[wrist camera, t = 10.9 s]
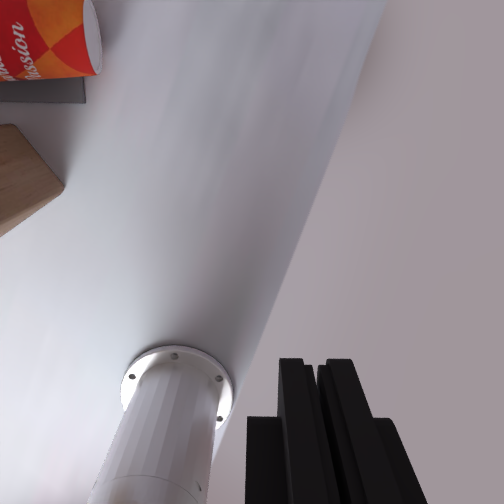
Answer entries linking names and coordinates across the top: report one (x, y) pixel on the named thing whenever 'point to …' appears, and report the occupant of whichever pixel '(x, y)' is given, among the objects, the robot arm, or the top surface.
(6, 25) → the paper cup
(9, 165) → the decorative block
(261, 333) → the top surface
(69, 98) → the mat
